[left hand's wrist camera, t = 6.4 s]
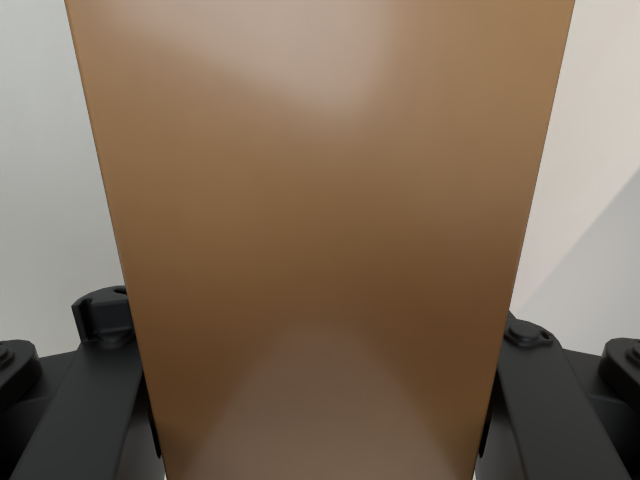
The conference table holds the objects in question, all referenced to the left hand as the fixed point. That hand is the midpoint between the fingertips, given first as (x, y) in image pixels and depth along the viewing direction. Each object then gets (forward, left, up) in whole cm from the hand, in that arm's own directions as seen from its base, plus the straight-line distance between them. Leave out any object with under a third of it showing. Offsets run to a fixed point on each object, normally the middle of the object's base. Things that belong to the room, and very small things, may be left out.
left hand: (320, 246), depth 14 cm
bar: (+10, +3, -1) cm, 10 cm away
